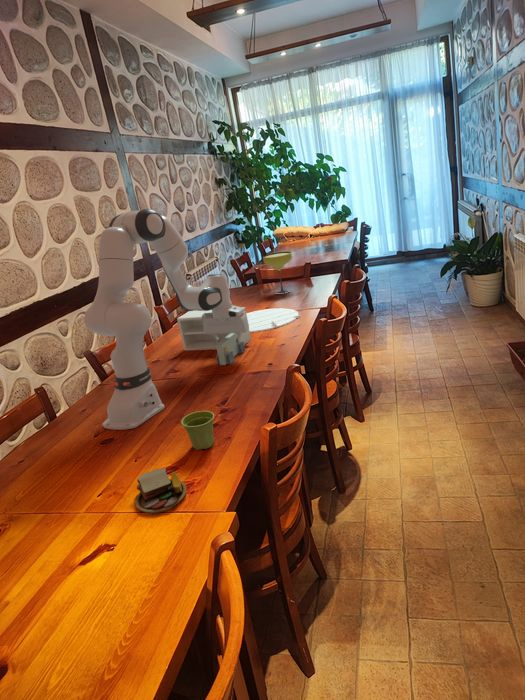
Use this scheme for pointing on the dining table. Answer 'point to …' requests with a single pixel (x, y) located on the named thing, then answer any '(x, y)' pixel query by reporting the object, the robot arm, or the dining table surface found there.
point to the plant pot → (200, 429)
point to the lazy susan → (270, 318)
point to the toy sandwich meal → (159, 491)
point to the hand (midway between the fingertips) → (228, 342)
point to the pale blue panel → (227, 347)
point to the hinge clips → (230, 355)
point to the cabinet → (201, 332)
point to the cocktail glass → (278, 262)
